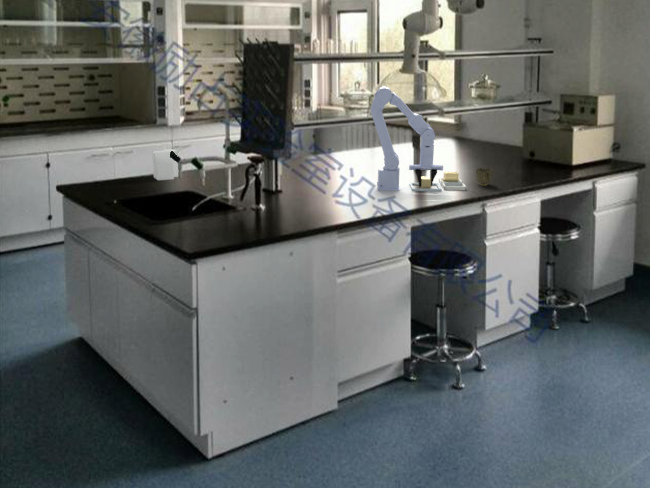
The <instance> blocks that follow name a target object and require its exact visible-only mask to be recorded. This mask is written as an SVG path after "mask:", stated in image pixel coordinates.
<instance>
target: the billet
mask: <svg viewBox="0 0 650 488" xmlns="http://www.w3.org/2000/svg"><path fill="white" fill-rule="evenodd" d="M419 189H432V187H431V178H430V176H422V175H421V187H420V188H419Z"/></svg>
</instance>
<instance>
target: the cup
mask: <svg viewBox="0 0 650 488" xmlns="http://www.w3.org/2000/svg"><path fill="white" fill-rule="evenodd" d="M493 172H494V169H493V168H490V167H489V168H487V167H486V168H485V167H483V168H482V167H479V168H476V169H475V174H476V175H475V176H476V182H478V184H479V186H488V184H489V183H491V182H492V176H493Z"/></svg>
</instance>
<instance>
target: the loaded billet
mask: <svg viewBox="0 0 650 488" xmlns="http://www.w3.org/2000/svg"><path fill="white" fill-rule="evenodd" d="M459 175H460V174H459V173H458V171H443V182H458V179H459Z"/></svg>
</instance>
